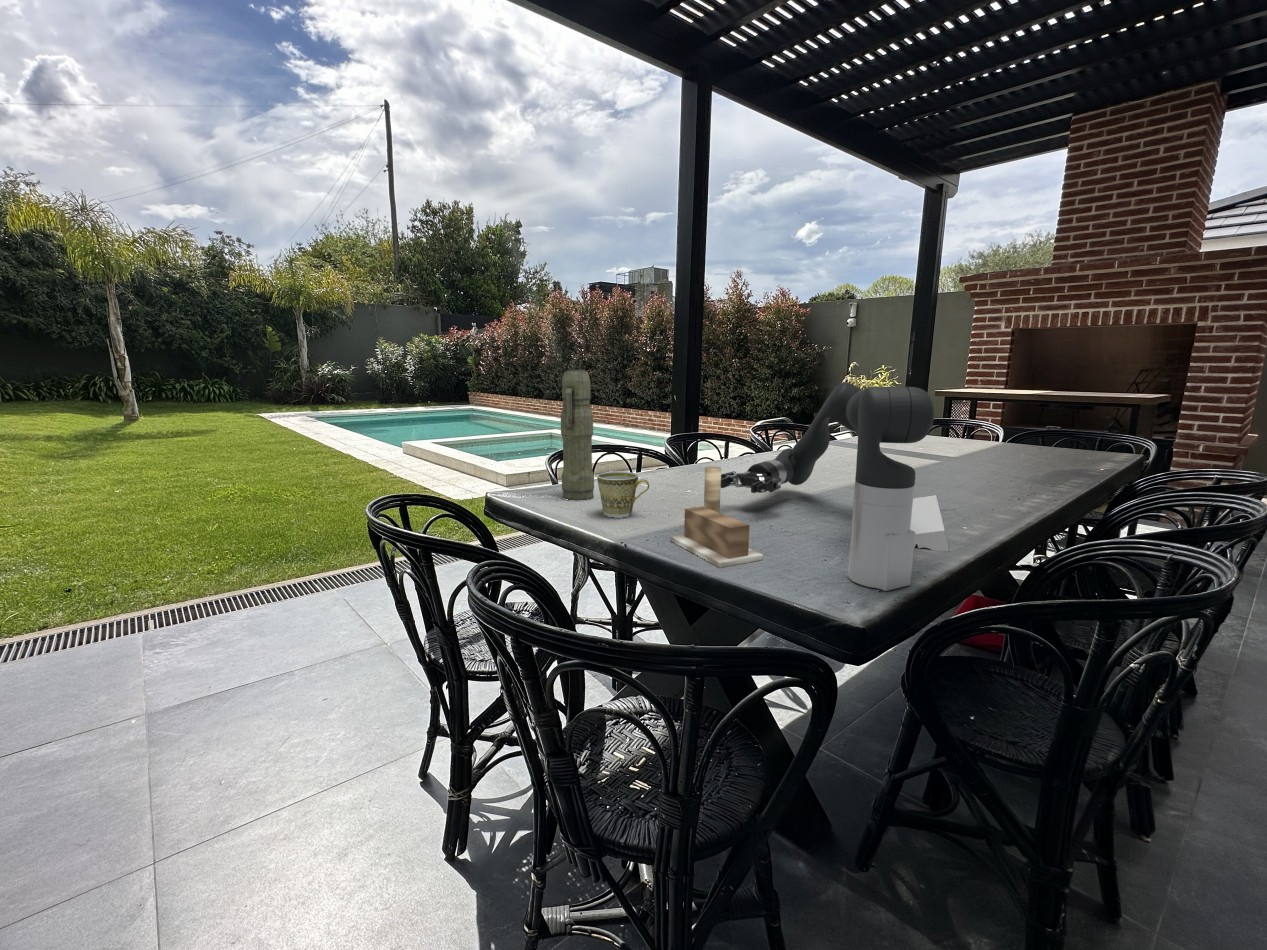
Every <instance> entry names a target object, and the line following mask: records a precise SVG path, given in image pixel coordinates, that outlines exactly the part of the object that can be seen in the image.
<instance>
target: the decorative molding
mask: <svg viewBox="0 0 1267 950" xmlns="http://www.w3.org/2000/svg"><path fill="white" fill-rule="evenodd" d="M938 502H939V501H938V499H937V495H935V494H934V495H927V496H921V497H915V498H914V497H913V505H912V516H911V527H910V530H913V531H914V532H915V543H914V547H915V548H916V546H917V548H918V549H922V548H925V549H929V550H931V549H935V550H934V551H936V549H938V550H947V551H948V552H949V545H948V539H947V536H946V531H945V527H944V521H943V517H942V514H941V511H940V505H939V503H938Z"/></svg>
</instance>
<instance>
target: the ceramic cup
mask: <svg viewBox="0 0 1267 950" xmlns="http://www.w3.org/2000/svg"><path fill="white" fill-rule="evenodd" d="M596 478H597V479H596V480H597V487H598V491H599V494H600V501H601V506H602V511H603V515H604V516H605V515H606V516H608V517H614V518H613V519H617V518H620V519H624V518H623V517H627V518H630V517H631V516H632V513H633V509H634V503H635V502H636V500H637V499H638V498H640V497H641V496H642V495H643V494H645V493H646V492H647V491H648V490H649V489H650V484H649V481H648V480H647V479H640V480H638V479H639V475H638V473H634V472H629V471H608V472H602V473H599V474H597V475H596ZM641 483H645V484H646V485H647V487H646V488H645V489H644V490H643V491H642V492H640V493H639V494H638V495H637V496H636V492H637V488H638V486H639V485H640V484H641ZM630 515H631V516H630ZM606 516H605V517H606ZM629 516H630V517H629ZM608 517H607V518H608Z"/></svg>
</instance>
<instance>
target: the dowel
mask: <svg viewBox="0 0 1267 950" xmlns="http://www.w3.org/2000/svg"><path fill="white" fill-rule="evenodd" d="M721 474H722V467H720V466H705V467H704V484H703V485H704V486H703V487H704V489H703V491H704V492H703V494H704V495H703V507H706V508H708V509H711V510H713V511H716V512H718V513H721V490H722V488H721Z"/></svg>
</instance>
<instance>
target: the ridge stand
mask: <svg viewBox="0 0 1267 950" xmlns="http://www.w3.org/2000/svg"><path fill="white" fill-rule="evenodd" d="M683 521H684V523H683V524H684V527H683V529H684V530H683V531H684V532H683V534H678V535H673V536H672V535H671V536H670V542H671V541H672V543H673V542H674V543H673V544H675V545H677V546H679V547H680V546H681V547H680V548H682V547H683V548H682V549H684V550H686V549H687V550H686V551H687V552H690V553H691V552H692V554H693V553H694V554H693V555H696V556H697V555H698V556H697V557H699V558H701V559H702V558H703V559H702V560H704V559H705V560H704V561H706V562H708V563H710V564H712V565H714V566H715V567H717V568H726V567H732V566H737V565H742V564H747V563H753V562H758V561H763V560H764V554H763V553H760V552H758V551H755V550H753V549H751V548H749V544H750V543H749V542H750V524H748V523H745V522H743V521H741V520H738V519H736V518H734V517H730V516H728V515H726V514H724V513H721V512H720V513H718V512H716V511H713V510H711V509H708V508H706V507H704V505H703V506H695V507H694V506H693V507H686V508H684V520H683Z"/></svg>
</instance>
